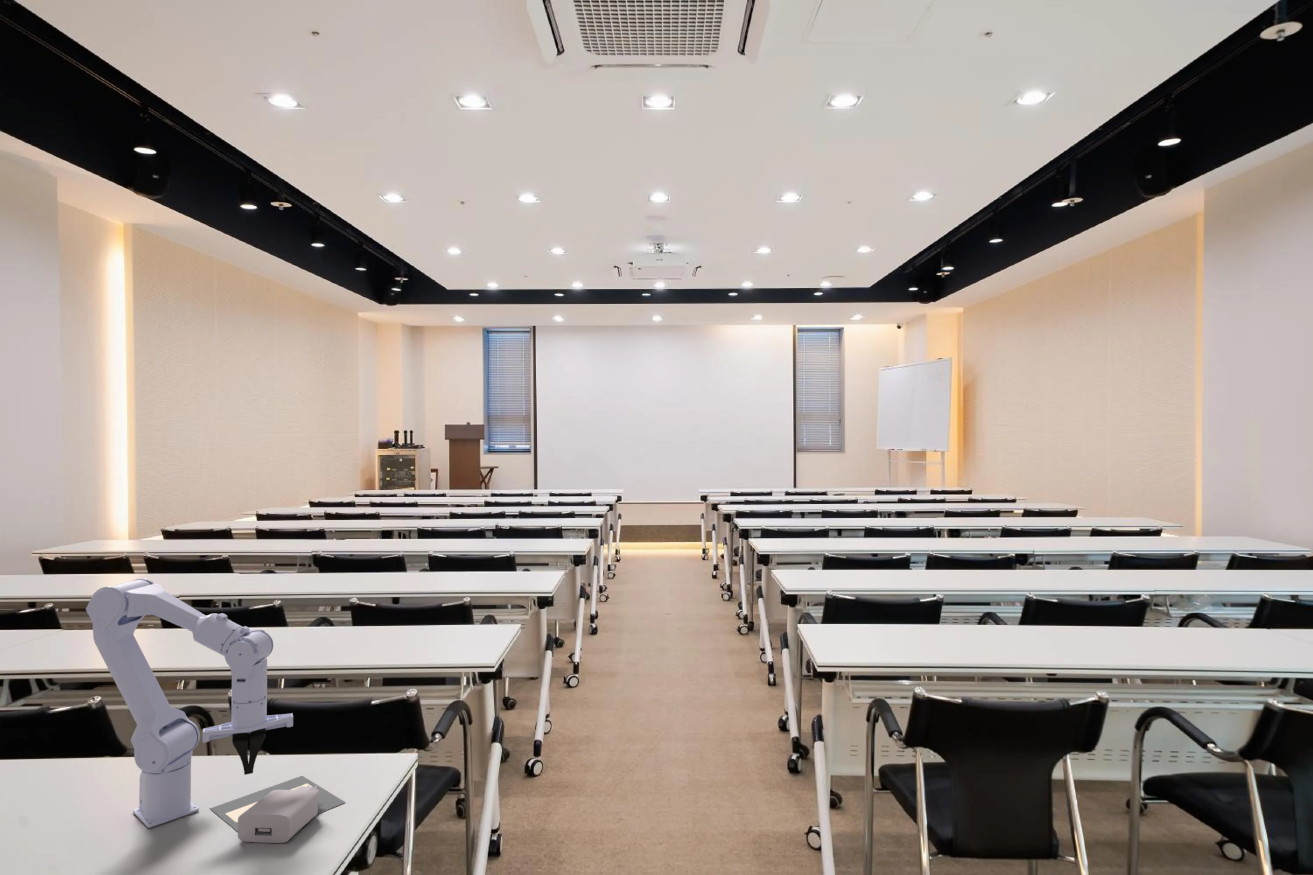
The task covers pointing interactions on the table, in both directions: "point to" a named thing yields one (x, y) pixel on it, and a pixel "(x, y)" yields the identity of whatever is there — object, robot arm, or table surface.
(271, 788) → the label mat
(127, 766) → the table surface
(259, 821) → the charger
